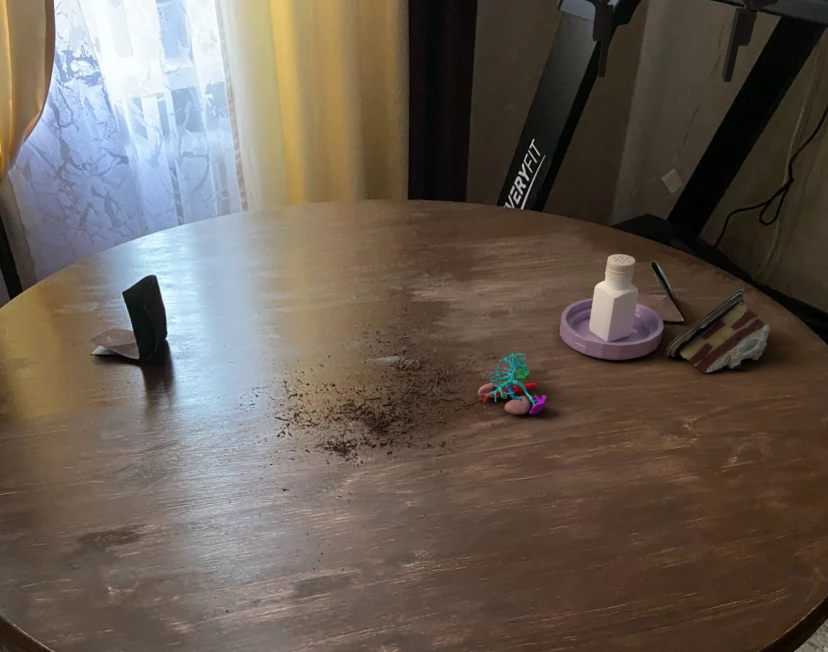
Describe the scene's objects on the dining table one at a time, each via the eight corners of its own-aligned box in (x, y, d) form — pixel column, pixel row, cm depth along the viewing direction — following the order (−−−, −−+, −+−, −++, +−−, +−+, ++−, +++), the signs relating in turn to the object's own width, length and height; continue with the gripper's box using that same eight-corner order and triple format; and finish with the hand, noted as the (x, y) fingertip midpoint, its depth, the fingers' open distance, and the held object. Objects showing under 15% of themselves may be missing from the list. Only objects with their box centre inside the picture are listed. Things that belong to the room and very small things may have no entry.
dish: (657, 319, 107) (661, 301, 106) (661, 368, 98) (665, 348, 97) (561, 312, 109) (563, 294, 107) (556, 359, 100) (558, 340, 98)
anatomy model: (498, 394, 86) (554, 372, 87) (461, 359, 91) (515, 339, 93) (500, 434, 89) (555, 412, 91) (465, 398, 95) (517, 378, 96)
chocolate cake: (703, 390, 95) (787, 310, 92) (660, 350, 98) (741, 271, 95) (715, 409, 104) (794, 337, 100) (676, 372, 106) (751, 301, 103)
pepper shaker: (606, 344, 101) (618, 269, 95) (586, 330, 104) (596, 256, 98) (632, 337, 103) (646, 262, 96) (612, 323, 105) (624, 249, 99)
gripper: (836, -174, 81) (775, 72, 95) (574, -173, 84) (552, 64, 98) (852, -171, 75) (784, 89, 89) (571, -171, 78) (549, 80, 93)
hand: (663, 76), depth 94 cm, fingers open, 13 cm apart
